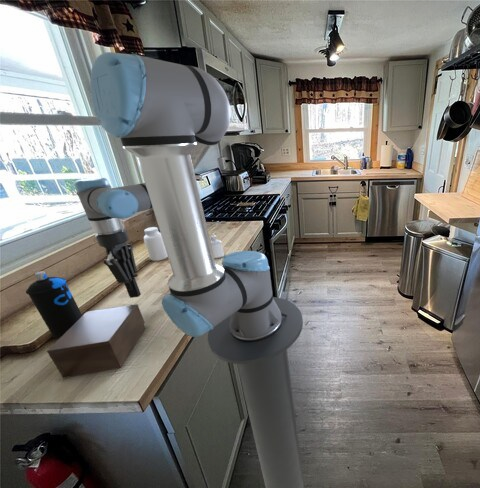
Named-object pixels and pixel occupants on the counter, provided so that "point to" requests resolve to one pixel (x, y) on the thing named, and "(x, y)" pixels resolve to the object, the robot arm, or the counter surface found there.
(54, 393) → the counter surface
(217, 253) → the eye dropper bottle
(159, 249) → the pill bottle
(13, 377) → the counter surface
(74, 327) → the cabinet
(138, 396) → the counter surface
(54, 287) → the aerosol can
